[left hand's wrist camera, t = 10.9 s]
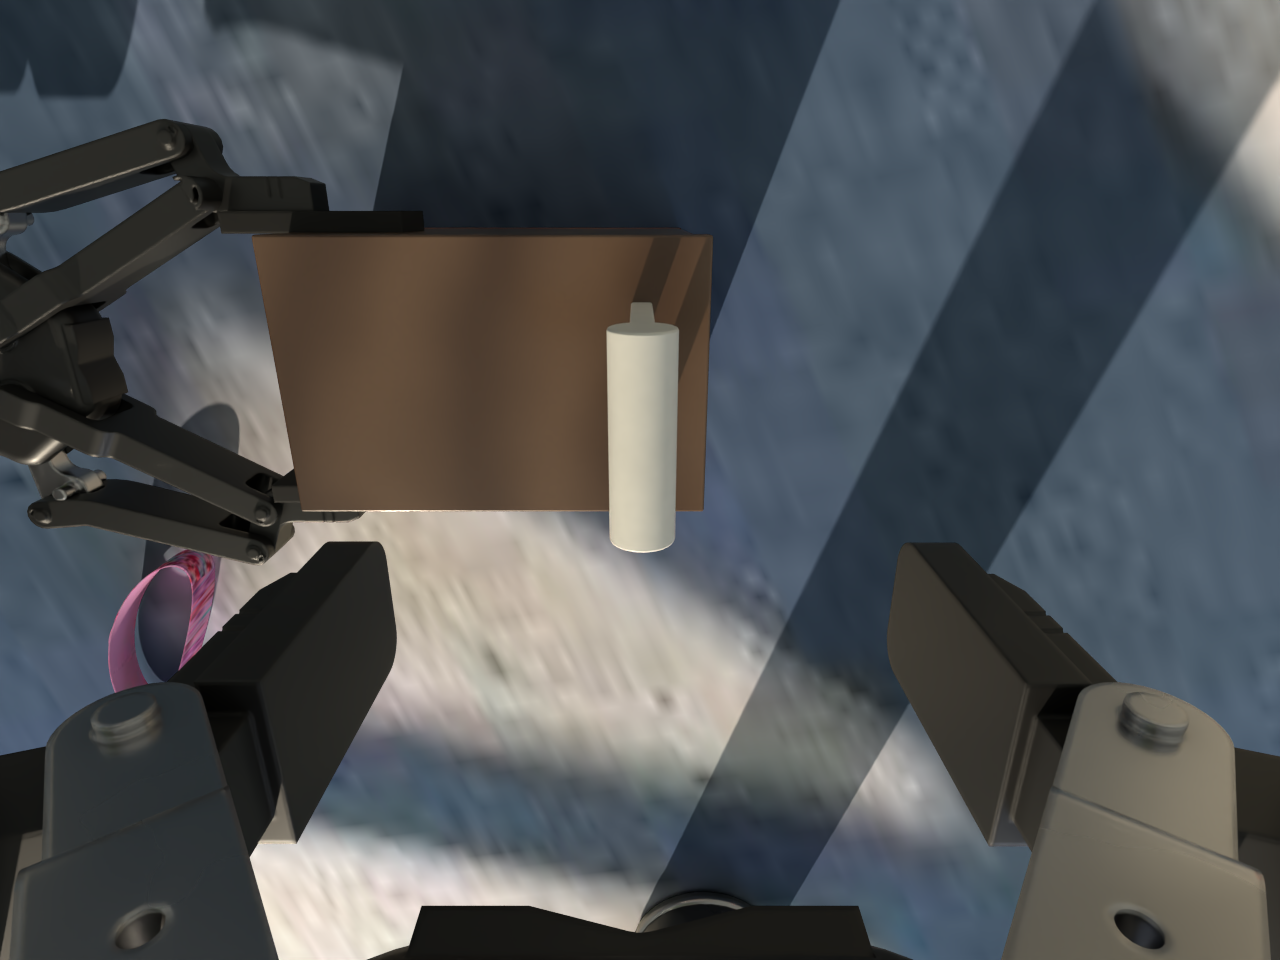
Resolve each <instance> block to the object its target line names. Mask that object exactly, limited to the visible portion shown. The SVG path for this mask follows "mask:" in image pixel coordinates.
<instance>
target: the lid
mask: <svg viewBox="0 0 1280 960" xmlns="http://www.w3.org/2000/svg"><path fill="white" fill-rule="evenodd" d="M252 241H253V246H254V252H255V257H256V263H257V268H258V274H259V279H260V285H261V290H262V296H263V301H264V307H265V312H266V318H267V323H268V328H269V334H270V339H271V345H272V350H273V356H274V361H275V367H276V372H277V378H278V383H279V389H280V394H281V399H282V405H283V410H284V416H285V421H286V427H287V432H288V438H289V443H290V449H291V454H292V460H293V465H294V471H295V476H296V481H297V487H298V492H299V498H300V503H301V509H302V511H609V516H610V540H611V542H612V543H613V544H614V545H615V546H616V547H618V548H620V549H623V550H626V551H631V552H654V551H659V550H662V549H665V548H667V547H669V546H670V545H671V544H672V543H673V541H674V539H675V511H703V509H704V484H705V456H706V427H707V398H708V370H709V341H710V312H711V283H712V255H713V236H712V235H709V234H259V235H253V236H252Z"/></svg>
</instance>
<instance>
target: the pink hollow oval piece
mask: <svg viewBox="0 0 1280 960" xmlns="http://www.w3.org/2000/svg"><path fill="white" fill-rule="evenodd" d="M166 567H178V568H181V569H183V570H184V571H185V572H186V573H187V575H188V577H189V579H190V582H191V587H192V608H191V616H190V622H189V628H188V633H187V638H186V642H185V647H184V651H183V655H182V659H181V663H180V667H179V670H180V669H181V668H182V667H183V666H184V665H185V664H186V663H187V662H188V661H189V660H190V659H191V658H192V657H193V656H194V655H195V654H196V653H197V652H198V651H199V650H200V649H201V647H202V643H203V640H204V636H205V632H206V628H207V624H208V619H209V615H210V610H211V605H212V600H213V593H214V585H215V567H214V562H213V559H212V557H211V555H210V554H205V553H201V552H197V551H193V550H188V549H187V550H184V551H182V552H180V553H178V554H176V555H175V556H173V557H172V558H171V559H169V560H168V561H167V562H165V563H164V564H163V565H161V566H160V567H158V568H157V569H156V570H154V571H153V572H152V573H150V574H149V575H148V576H146V577H145V578H144V579H143V580H142V581H140V582H139V583H138V584H137V585H136V586H135V588H134V589H133V590H132V591H131V592H130V594H129V595H128V596H127V598H126V599H125V601H124V603H123V604H122V606H121V608H120V610H119V612H118V614H117V616H116V619H115V621H114V624H113V628H112V629H111V632H110V636H109V652H108V661H109V671H110V677H111V681H112V684H113V688H114V690H115V693H116V692H119V691H122V690H125V689H129V688H132V687H136V686H140V685H145V684H148V683H147V682H146V680H145V679H144V677H143V675H142V672H141V670H140V667H139V664H138V661H137V657H136V652H135V643H134V631H135V621H136V616H137V612H138V608H139V605H140V602H141V599H142V597H143V595H144V593H145V591H146V589H147V587H148V585H149V584H150V582H151V580H152V579H153V578H154V576H155V575H156V574H157V572H158V571H159V570H160V569H163V568H166Z"/></svg>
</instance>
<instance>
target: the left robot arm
mask: <svg viewBox="0 0 1280 960" xmlns="http://www.w3.org/2000/svg"><path fill="white" fill-rule="evenodd" d="M396 643H397V632H396V624H395V617H394V610H393V602H392V595H391V588H390V581H389V574H388V567H387V560H386V555H385V551H384V549H383V547H382V545H381V544H380V543H379V542H327V543H325V544H324V545H323V546H322V547H321V548H320V549H319V550H318V551H317V552H316V553H315V554H314V556H313V557H312V558H311V559H310V560H309V561H308V562H307V563H306V564H305V565H304V566H303V567H302V568H301V569H300V570H299V571H298V572H297V573H289V574H288V575H286V576H284V577H282V578H280V579H279V580H277V581H275V582H273V583H271V584H269V585H268V586H266V587H264V588H262V589H260V590H259V591H258V592H257V593H256V594H255V595H254V596H253V597H252V598H251V599H250V600H249V601H248V602H247V603H246V604H245V605H244V606H243V607H242V608H241V609H240V612H239V614H235V615H234V616H233V617H232V618H231V619H230V620H229V621H228V622H227V623H226V624H225V625H224V626H223V629H222V631H218V632H217V633H216V634H215V635H214V636H213V637H212V638H211V639H210V640H209V641H208V642H207V643H206V644H205V645H204V646H203V647H202V648H201V649H200V650H199V651H198V652H197V653H196V654H195V655H194V656H193V657H192V658H191V659H190V660H189V661H188V662H187V663H186V664H185V665H184V666H183V667H182V668H181V669H180V670H179V671H178V672H177V673H176V674H175V675H174V676H173V677H172V678H171V679H170V680H169V681H168V682H160V683H151V684H145V685H140V686H136V687H132V688H129V689H125V690H122V691H119V692H116V693H113V694H111V695H108V696H106V697H104V698H101V699H99V700H97V701H95V702H93V703H91V704H89V705H87V706H86V707H84V708H82V709H81V710H79V711H78V712H76V713H75V714H73V715H72V716H71V717H69V718H68V719H67V720H65V721H64V722H63V723H62V724H61V725H60V726H59V727H58V728H57V729H56V730H55V731H54V733H53V734H52V735H51V736H50V738H49V740H48V742H47V745H46V747H41V748H36V749H31V750H26V751H21V752H16V753H11V754H5V755H0V960H279V959H278V955H277V952H276V948H275V945H274V941H273V938H272V934H271V931H270V927H269V924H268V920H267V917H266V913H265V910H264V907H263V903H262V900H261V896H260V893H259V889H258V886H257V882H256V879H255V875H254V872H253V868H252V865H251V861H250V858H249V857H250V856H251V854H252V852H253V851H254V849H255V848H256V846H257V844H297V842H298V840H299V838H300V836H301V834H302V833H303V831H304V829H305V827H306V825H307V823H308V822H309V820H310V818H311V816H312V814H313V812H314V810H315V809H316V807H317V805H318V803H319V801H320V799H321V798H322V796H323V794H324V792H325V790H326V788H327V787H328V785H329V783H330V781H331V779H332V777H333V776H334V774H335V772H336V770H337V768H338V766H339V765H340V763H341V761H342V759H343V757H344V755H345V753H346V752H347V750H348V748H349V746H350V744H351V742H352V741H353V739H354V737H355V735H356V733H357V731H358V730H359V728H360V726H361V724H362V722H363V720H364V719H365V717H366V715H367V713H368V711H369V709H370V708H371V706H372V704H373V702H374V700H375V698H376V696H377V695H378V693H379V691H380V689H381V687H382V685H383V684H384V682H385V680H386V678H387V676H388V674H389V673H390V670H391V668H392V665H393V662H394V658H395V653H396ZM887 648H888V656H889V661H890V664H891V667H892V670H893V672H894V674H895V676H896V678H897V680H898V682H899V683H900V685H901V687H902V689H903V691H904V692H905V694H906V696H907V698H908V700H909V701H910V703H911V705H912V707H913V709H914V711H915V712H916V714H917V716H918V718H919V720H920V721H921V723H922V725H923V727H924V729H925V731H926V732H927V734H928V736H929V738H930V740H931V741H932V743H933V745H934V747H935V749H936V751H937V752H938V754H939V756H940V758H941V760H942V761H943V763H944V765H945V767H946V769H947V771H948V772H949V774H950V776H951V778H952V780H953V781H954V783H955V785H956V787H957V789H958V791H959V792H960V794H961V796H962V798H963V800H964V801H965V803H966V805H967V807H968V809H969V810H970V812H971V814H972V816H973V818H974V820H975V821H976V823H977V825H978V827H979V829H980V830H981V832H982V834H983V836H984V838H985V840H986V841H987V843H988V845H989V846H1028V847H1029V848H1030V850H1031V852H1032V854H1031V858H1030V861H1029V865H1028V868H1027V872H1026V875H1025V879H1024V882H1023V886H1022V889H1021V893H1020V896H1019V900H1018V903H1017V907H1016V910H1015V913H1014V917H1013V920H1012V924H1011V927H1010V931H1009V934H1008V938H1007V941H1006V945H1005V948H1004V952H1003V955H1002V959H1001V960H1280V757H1279V756H1274V755H1269V754H1264V753H1259V752H1254V751H1249V750H1244V749H1239V748H1235V747H1234V745H1233V742H1232V740H1231V738H1230V736H1229V735H1228V734H1227V733H1226V731H1225V730H1224V729H1223V728H1222V727H1221V726H1220V725H1219V724H1218V723H1217V722H1216V721H1215V720H1213V719H1212V718H1211V717H1209V716H1208V715H1207V714H1205V713H1204V712H1202V711H1201V710H1199V709H1198V708H1196V707H1194V706H1193V705H1191V704H1189V703H1187V702H1185V701H1183V700H1181V699H1179V698H1176V697H1174V696H1172V695H1169V694H1167V693H1164V692H1161V691H1158V690H1155V689H1151V688H1148V687H1144V686H1140V685H1135V684H1129V683H1120V682H1117V681H1116V680H1115V679H1114V678H1113V677H1112V676H1111V675H1110V674H1109V673H1108V672H1107V671H1106V670H1105V669H1104V668H1103V667H1102V666H1100V665H1099V664H1098V663H1097V662H1096V661H1095V660H1094V659H1093V658H1092V657H1091V656H1090V655H1089V654H1088V653H1087V652H1086V651H1085V650H1084V649H1083V648H1082V647H1081V646H1080V645H1079V644H1078V643H1077V642H1076V641H1075V640H1074V639H1073V638H1072V637H1071V636H1070V635H1069V634H1068V633H1063V628H1062V627H1061V626H1060V625H1059V624H1058V623H1057V622H1056V621H1055V620H1054V619H1053V618H1052V617H1051V616H1046V611H1045V610H1044V609H1043V608H1042V607H1041V606H1040V605H1039V604H1038V603H1037V602H1036V601H1035V600H1033V599H1032V598H1031V597H1030V596H1029V595H1028V594H1027V593H1026V592H1025V591H1024V590H1022V589H1020V588H1018V587H1017V586H1015V585H1013V584H1011V583H1009V582H1007V581H1006V580H1004V579H1002V578H1000V577H998V576H997V575H995V574H987V573H986V572H985V571H984V570H983V569H982V568H981V567H980V566H979V564H978V563H977V562H976V561H975V560H974V559H973V558H972V557H971V556H970V555H969V554H968V553H967V552H966V551H965V550H964V549H963V548H962V547H961V546H960V545H959V544H957V543H905V544H904V545H903V546H902V548H901V550H900V552H899V556H898V561H897V567H896V574H895V581H894V588H893V595H892V602H891V609H890V616H889V623H888V631H887ZM368 960H912V959H910V958H907V957H904V956H902V955H899V954H896V953H893V952H891V951H888V950H885V949H882V948H878V947H874V946H871V945H870V942H869V938H868V935H867V932H866V929H865V926H864V923H863V919H862V916H861V913H860V910H859V907H858V906H750V905H749V904H747V903H746V902H744V901H742V900H740V899H737V898H735V897H732V896H729V895H725V894H720V893H712V892H696V893H688V894H683V895H679V896H676V897H673V898H670V899H668V900H665V901H663V902H661V903H660V904H658V905H656V906H655V907H654V908H652V909H651V910H650V911H649V912H648V913H647V914H646V915H645V916H644V917H643V918H642V920H641V921H640V923H639V925H638V927H637V929H636V932H630V931H625V930H621V929H618V928H614V927H610V926H606V925H602V924H598V923H594V922H590V921H586V920H582V919H578V918H574V917H571V916H567V915H563V914H559V913H555V912H551V911H547V910H543V909H539V908H535V907H531V906H422V907H421V910H420V913H419V916H418V919H417V923H416V926H415V929H414V932H413V935H412V938H411V942H410V945H409V946H406V947H402V948H398V949H395V950H392V951H389V952H387V953H384V954H381V955H378V956H376V957H373V958H370V959H368Z"/></svg>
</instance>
